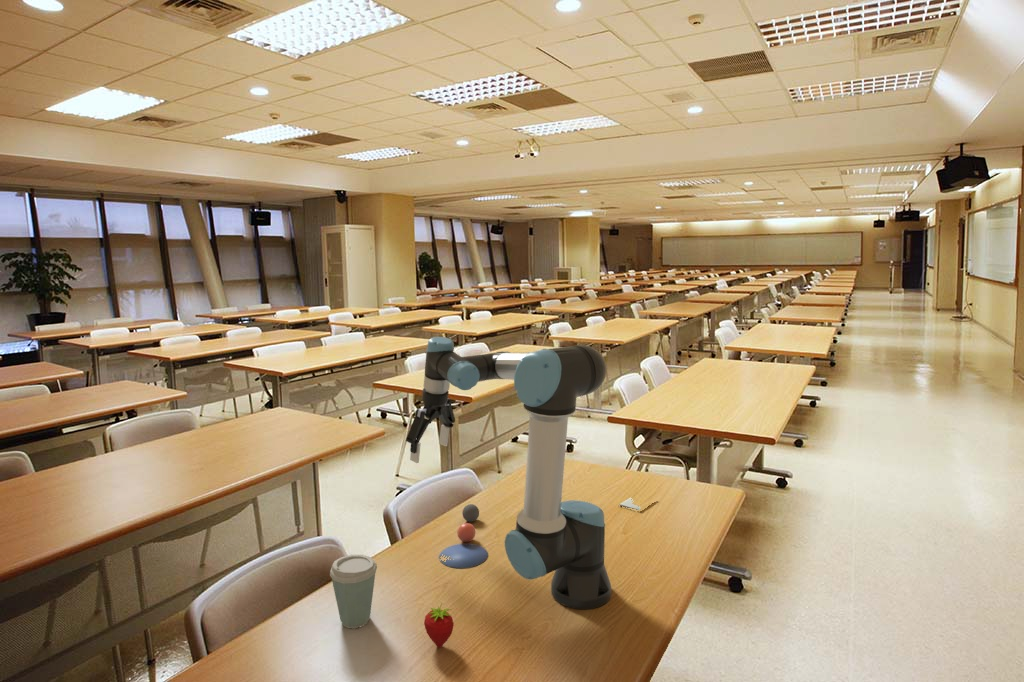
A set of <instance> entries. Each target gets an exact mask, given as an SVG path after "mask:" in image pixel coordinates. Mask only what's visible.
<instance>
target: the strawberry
mask: <svg viewBox="0 0 1024 682" xmlns="http://www.w3.org/2000/svg"><path fill="white" fill-rule="evenodd" d="M442 605H443V603H442V602H441V604H440V606H437V608H434V607H430V609H431V610H429V612H428V613H427V614H426V615H425V617H424V623H423V625H424V629H425V631H426V634H427V635H428V637H429V639H430V641H432V643H433V644H434V645H435V646H436V647H437V648H441V647H443V645H444V644H445V643H446V642H447V641H448V640H449V639H450V638H451V635H452V633H453V629H454V626H455V625H454V620H453V617H452V615H451V614H450V613H448V612H449V611H452V608H444V609H441V608H442Z"/></svg>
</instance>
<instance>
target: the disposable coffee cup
mask: <svg viewBox="0 0 1024 682" xmlns="http://www.w3.org/2000/svg"><path fill="white" fill-rule="evenodd" d="M377 565H378V564H377V562H376V561H375V560H374V558H372V557H370V556H369V555H364V554H349V555H344V556H341V557H339V558H338V559H335V560H334V561H333V563H332V564H331V568H330V571H329V576H330V578H331V582H332V586H333V591H334V596H335V602H336V605H337V610H338V615H339V620H340V622H341V624H342V626H343V627H344V628H347V629H350V628H352V629H359V628H361V627H360V626H362V627H364V626H365V625H366V624H368V623H369V620H370V618H371V611H372V605H373V604H372V603H373V596H374V587H375V579H376V572H377V569H378V566H377ZM363 625H364V626H363ZM358 627H359V628H358Z"/></svg>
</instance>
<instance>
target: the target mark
mask: <svg viewBox="0 0 1024 682" xmlns="http://www.w3.org/2000/svg"><path fill="white" fill-rule="evenodd" d="M442 554H443V556H444V555H445V557H446V556H447V558H448V557H449V556H450V557H449V560H448V559H447V558H446V559H447V560H446V562H444V561H445V560H444V561H442V560H441V561H440V563H441V562H442V563H443V564H442V563H441V564H442V565H444V564H445V565H444V566H446V567H448V566H449V567H450V568H453V569H470V568H474V567H476V566H478V565H481V564H483V563H484V562H485V561H486V560H487V559H488V557H489V555H488V554H489V553H488V551H487V549H486V548H485V547H483V546H481V545H479V544H476V543H458V544H453V545H450V546H448V547H446V548H444V549H443V550H442V551H441V552H440V553H439V556H438V559H441V558H440V557H441V556H442ZM443 556H442V557H443ZM445 557H444V558H445ZM450 559H451V560H450ZM453 559H454V560H453ZM449 567H448V568H449Z"/></svg>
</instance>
